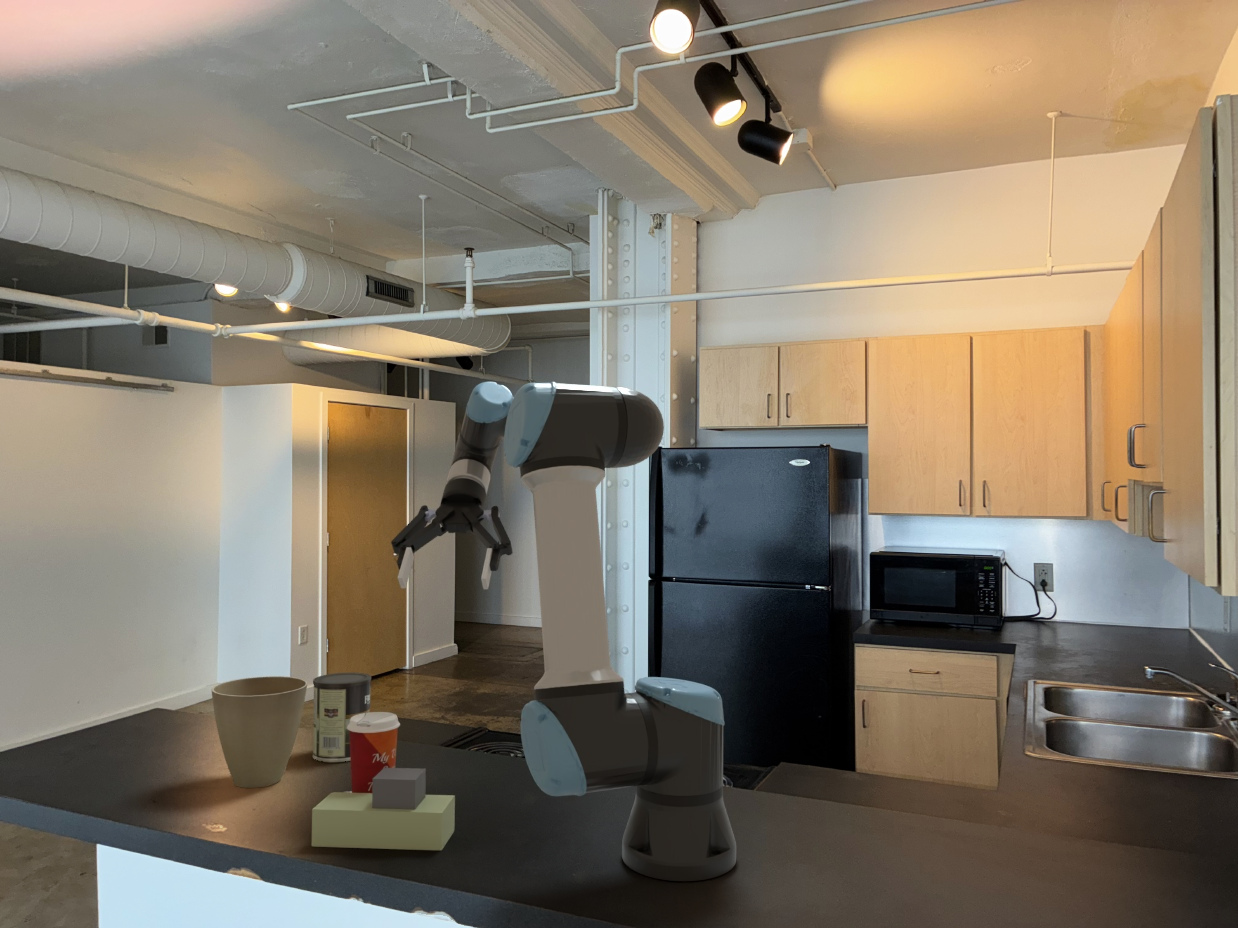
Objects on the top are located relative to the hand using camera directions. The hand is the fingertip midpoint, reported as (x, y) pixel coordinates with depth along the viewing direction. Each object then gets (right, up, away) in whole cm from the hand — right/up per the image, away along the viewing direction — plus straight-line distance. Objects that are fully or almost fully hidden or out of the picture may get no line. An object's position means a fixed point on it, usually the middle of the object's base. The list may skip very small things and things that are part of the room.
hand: (442, 583), depth 143 cm
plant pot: (-32, -34, +5) cm, 47 cm away
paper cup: (-8, -33, -10) cm, 35 cm away
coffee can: (-23, -35, +21) cm, 46 cm away
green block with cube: (-5, -33, -14) cm, 36 cm away
